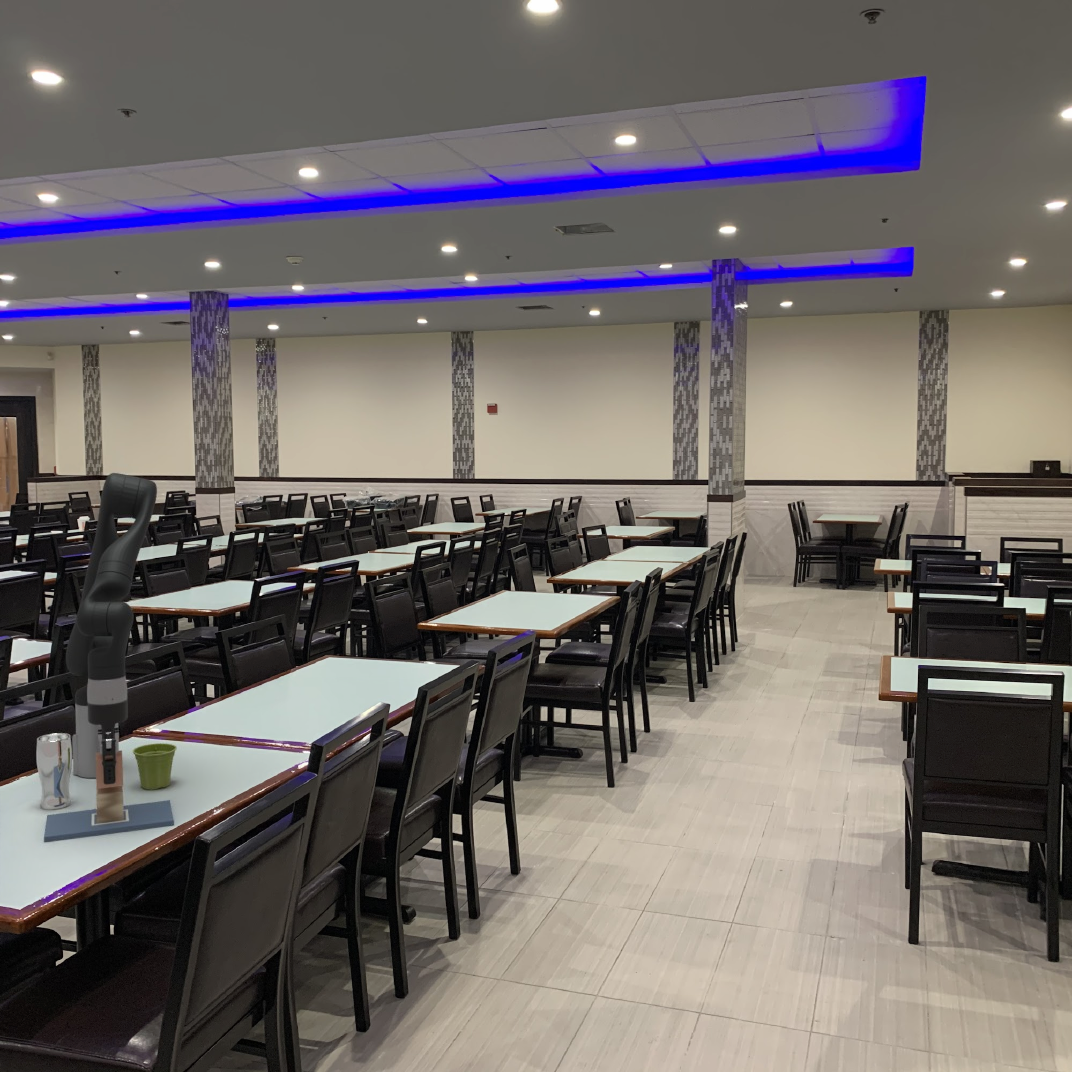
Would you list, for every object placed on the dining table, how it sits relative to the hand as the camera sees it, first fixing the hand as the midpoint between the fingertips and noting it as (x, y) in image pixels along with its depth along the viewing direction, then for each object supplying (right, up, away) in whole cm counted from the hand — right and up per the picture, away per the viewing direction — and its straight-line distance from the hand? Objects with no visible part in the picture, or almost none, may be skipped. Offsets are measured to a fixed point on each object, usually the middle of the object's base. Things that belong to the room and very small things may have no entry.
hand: (109, 779), depth 205 cm
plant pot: (0, -7, +24) cm, 25 cm away
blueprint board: (0, -9, +1) cm, 9 cm away
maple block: (0, -8, +1) cm, 8 cm away
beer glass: (-16, -8, +10) cm, 21 cm away
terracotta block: (0, -1, 0) cm, 1 cm away
